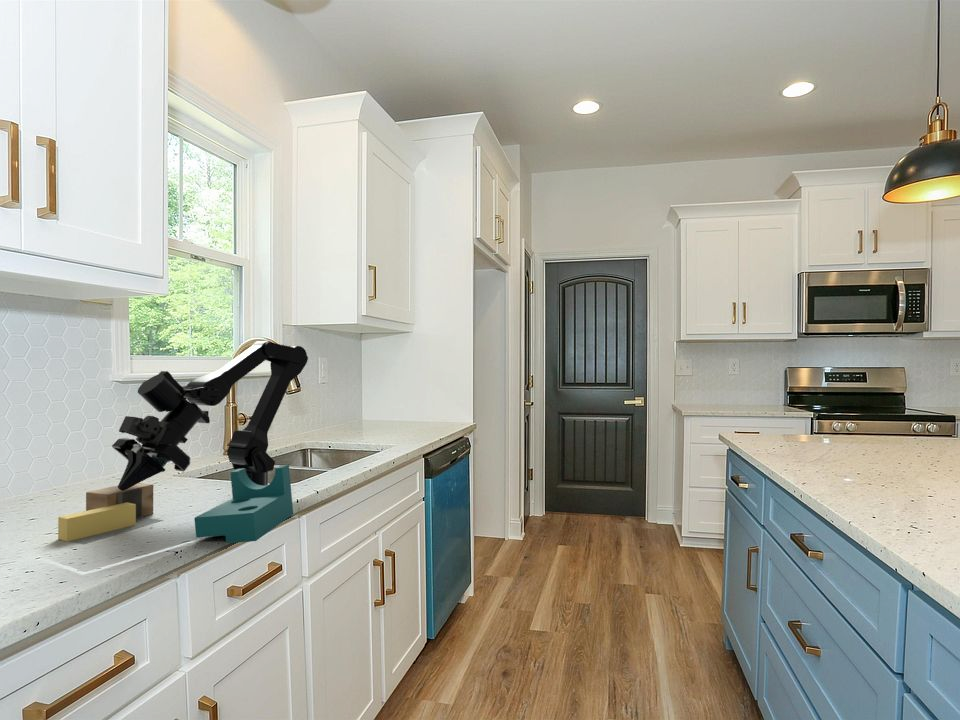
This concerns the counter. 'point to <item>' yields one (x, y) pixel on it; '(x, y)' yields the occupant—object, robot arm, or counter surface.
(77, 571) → the counter surface
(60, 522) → the yellow block
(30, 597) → the counter surface
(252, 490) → the teal l-shaped bracket
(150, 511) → the brown box
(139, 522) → the mat
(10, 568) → the counter surface
